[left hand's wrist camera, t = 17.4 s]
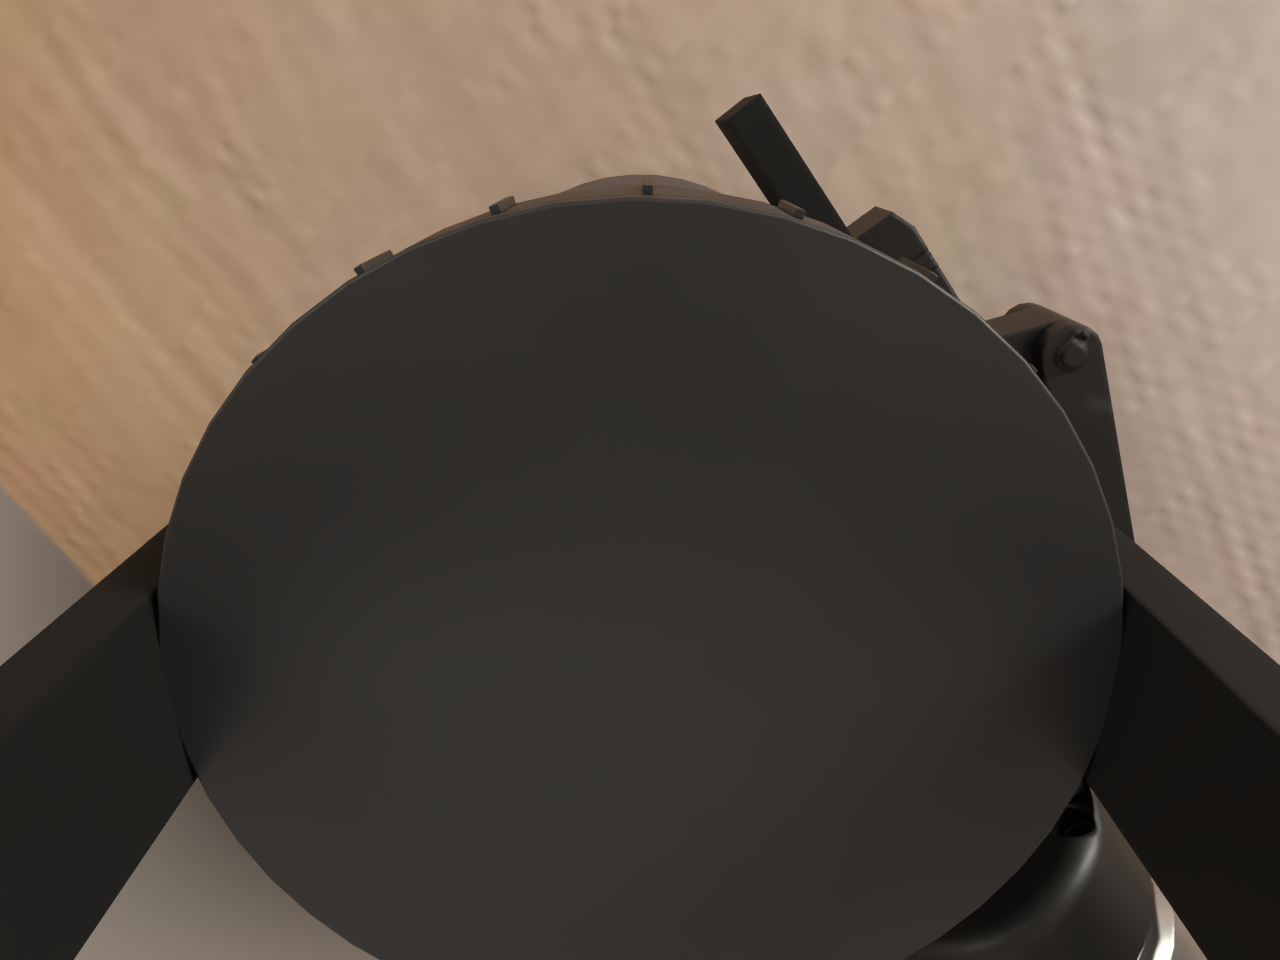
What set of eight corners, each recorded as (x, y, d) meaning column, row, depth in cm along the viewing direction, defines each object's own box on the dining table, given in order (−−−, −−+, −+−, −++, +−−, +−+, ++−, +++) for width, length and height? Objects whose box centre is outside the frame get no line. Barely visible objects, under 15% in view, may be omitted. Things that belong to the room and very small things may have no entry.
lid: (1214, 679, 13) (1296, 758, 11) (586, 1032, 15) (579, 1137, 14) (733, -55, 9) (751, -93, 8) (36, 562, 12) (-57, 628, 10)
